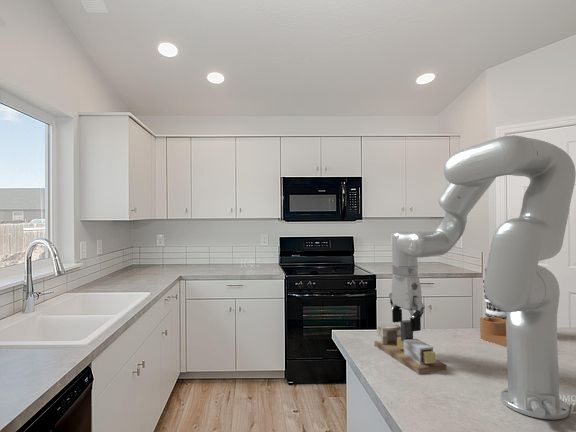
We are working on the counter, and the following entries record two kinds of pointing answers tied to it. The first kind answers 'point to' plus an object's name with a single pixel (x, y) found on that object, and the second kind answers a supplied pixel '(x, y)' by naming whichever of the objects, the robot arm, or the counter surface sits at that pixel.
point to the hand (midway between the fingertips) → (406, 326)
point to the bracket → (493, 330)
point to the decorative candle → (493, 309)
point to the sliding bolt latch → (406, 350)
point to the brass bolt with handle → (406, 334)
